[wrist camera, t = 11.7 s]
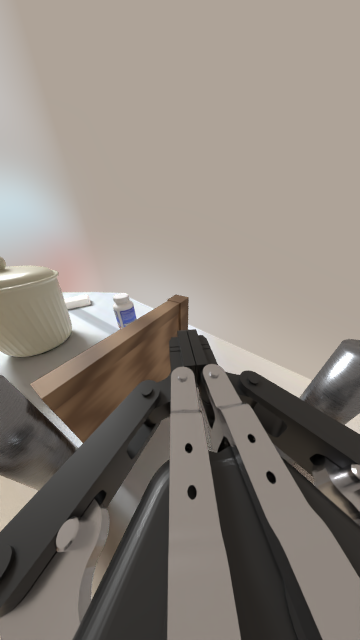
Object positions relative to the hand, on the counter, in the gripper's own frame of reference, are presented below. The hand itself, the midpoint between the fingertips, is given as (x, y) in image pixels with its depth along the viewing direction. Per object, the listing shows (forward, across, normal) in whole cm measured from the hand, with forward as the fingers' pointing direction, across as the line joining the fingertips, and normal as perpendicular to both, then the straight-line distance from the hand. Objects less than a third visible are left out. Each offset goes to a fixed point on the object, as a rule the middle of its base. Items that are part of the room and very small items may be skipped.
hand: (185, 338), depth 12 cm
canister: (+23, +33, +18) cm, 44 cm away
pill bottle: (+28, +13, +17) cm, 36 cm away
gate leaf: (+5, +4, +16) cm, 17 cm away
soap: (+46, +36, +19) cm, 61 cm away
